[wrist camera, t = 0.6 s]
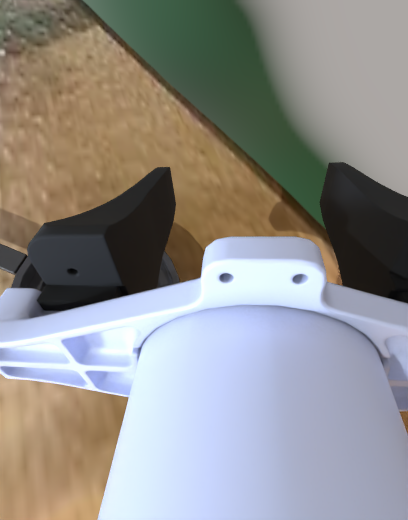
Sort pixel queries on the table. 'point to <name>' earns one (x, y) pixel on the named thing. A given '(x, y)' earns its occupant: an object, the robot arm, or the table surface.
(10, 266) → the pan handle
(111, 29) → the table surface
